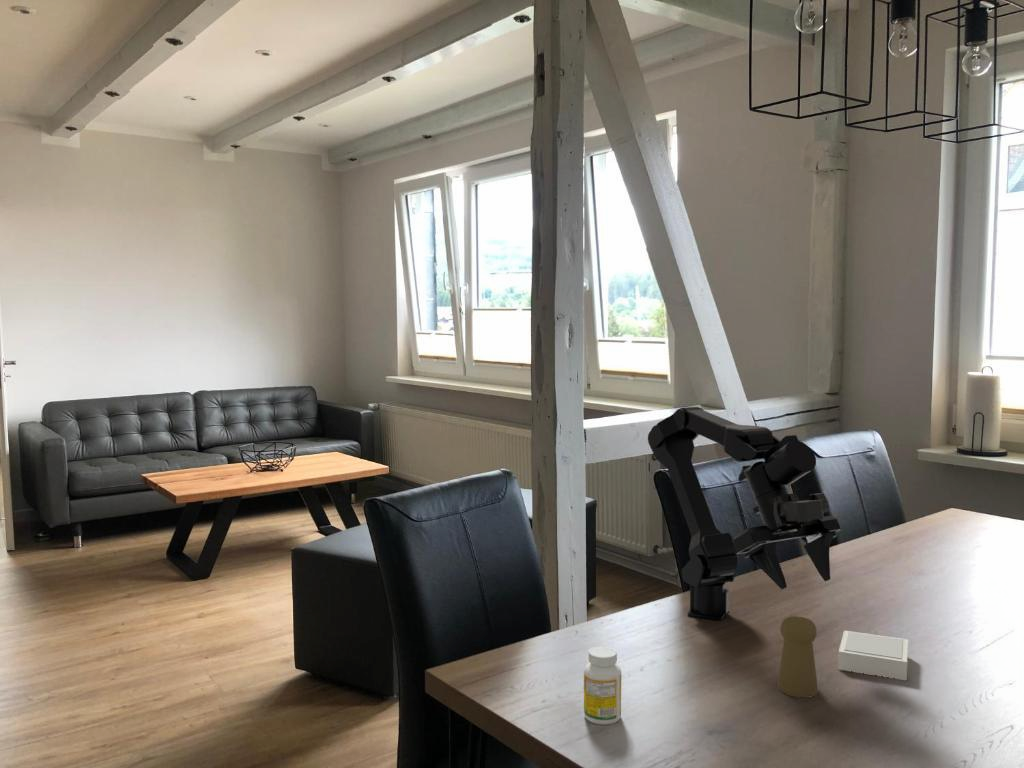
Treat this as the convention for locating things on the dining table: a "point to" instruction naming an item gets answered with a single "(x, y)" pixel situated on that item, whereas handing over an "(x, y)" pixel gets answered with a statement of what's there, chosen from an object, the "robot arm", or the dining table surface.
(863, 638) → the tray
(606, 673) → the supplement bottle
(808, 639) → the cork
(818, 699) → the dining table surface
